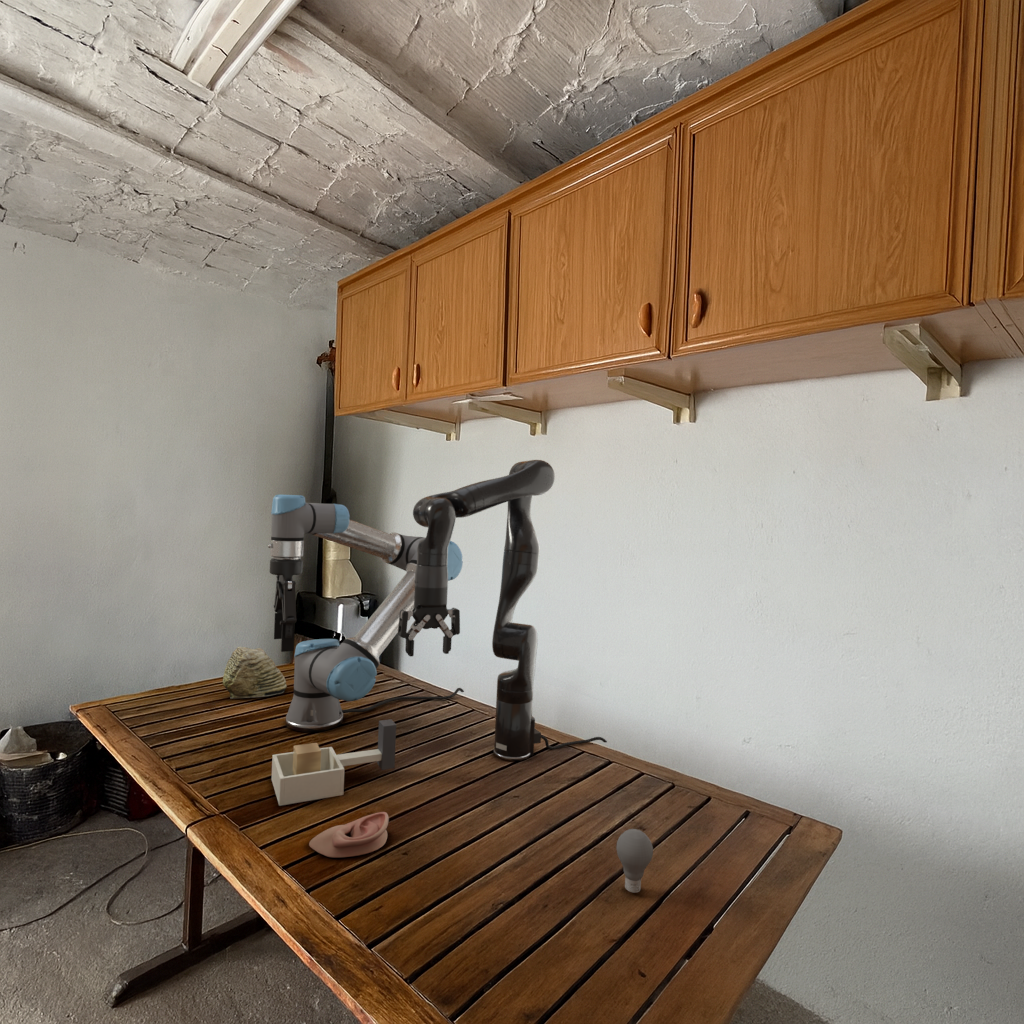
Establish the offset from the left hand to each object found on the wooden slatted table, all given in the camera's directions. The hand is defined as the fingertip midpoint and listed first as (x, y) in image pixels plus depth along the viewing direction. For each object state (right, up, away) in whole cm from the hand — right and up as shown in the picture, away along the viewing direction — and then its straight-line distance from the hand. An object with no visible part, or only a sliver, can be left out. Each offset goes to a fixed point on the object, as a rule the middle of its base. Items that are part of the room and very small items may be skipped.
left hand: (283, 644), depth 154 cm
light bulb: (+76, -31, -49) cm, 95 cm away
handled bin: (+17, -28, -14) cm, 35 cm away
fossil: (-25, -25, +44) cm, 56 cm away
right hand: (+37, 0, -9) cm, 38 cm away
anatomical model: (+26, -29, -38) cm, 54 cm away
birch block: (+11, -27, -17) cm, 33 cm away
